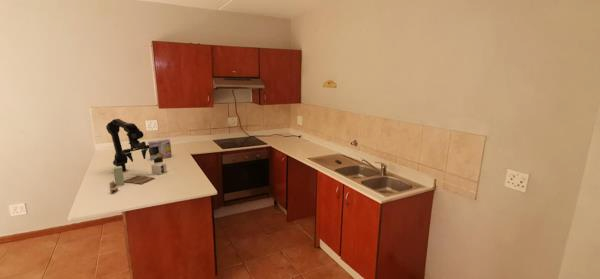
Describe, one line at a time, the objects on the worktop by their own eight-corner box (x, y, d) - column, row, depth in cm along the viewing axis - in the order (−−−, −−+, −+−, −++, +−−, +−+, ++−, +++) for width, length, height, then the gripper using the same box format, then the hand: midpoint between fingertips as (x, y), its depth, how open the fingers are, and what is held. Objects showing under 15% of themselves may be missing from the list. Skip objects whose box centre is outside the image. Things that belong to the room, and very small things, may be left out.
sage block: (115, 184, 211) (113, 166, 208) (124, 183, 213) (121, 165, 210) (115, 186, 206) (113, 168, 204) (123, 185, 209) (121, 167, 206)
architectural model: (120, 190, 201) (118, 180, 199) (115, 194, 194) (113, 183, 192) (114, 190, 200) (113, 180, 199) (109, 194, 193) (108, 183, 192)
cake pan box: (150, 160, 268) (148, 142, 265) (148, 159, 272) (147, 141, 269) (172, 157, 280) (170, 139, 277) (170, 156, 284) (169, 138, 280)
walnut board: (123, 182, 214) (123, 181, 214) (137, 176, 226) (137, 175, 226) (141, 184, 210) (141, 183, 210) (154, 178, 222) (154, 177, 222)
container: (167, 171, 238) (165, 156, 236) (160, 174, 231) (158, 158, 228) (159, 171, 240) (157, 155, 238) (152, 173, 233) (150, 158, 230)
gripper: (126, 141, 208) (131, 162, 209) (151, 136, 224) (156, 156, 225) (118, 143, 214) (124, 163, 216) (143, 138, 230) (148, 158, 231)
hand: (138, 160), depth 222 cm, fingers open, 9 cm apart
